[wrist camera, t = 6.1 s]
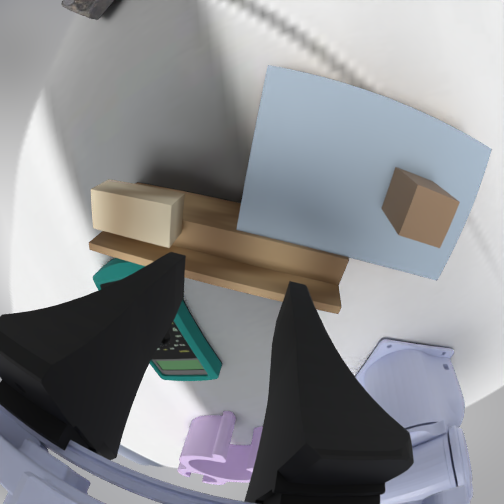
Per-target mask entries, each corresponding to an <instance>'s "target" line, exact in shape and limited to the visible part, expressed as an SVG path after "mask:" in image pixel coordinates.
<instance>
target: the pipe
mask: <svg viewBox="0 0 504 504" xmlns="http://www.w3.org/2000/svg"><path fill="white" fill-rule="evenodd" d="M113 1H114V0H63V1H62V6H63V7H65V8H67V9H69V10H71V11H73V12H75V13H78V14H80V15H83V16H86V17H88V18H91V19H96V20H98V19H99V18H100V17H101V16H102V14H103V13H104V12H105V11H106V9H107V8H108V7H109V6H110V5H111V3H112V2H113Z"/></svg>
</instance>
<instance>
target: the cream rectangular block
mask: <svg viewBox="0 0 504 504" xmlns="http://www.w3.org/2000/svg"><path fill="white" fill-rule="evenodd" d="M184 197H185V193H180V192H175V191H170V190H165V189H159V188H154V187H149V186H144V185H138V184H133V183H127V182H121V181H116V180H110V179H108V180H107V181H105V182H103V183H101V184H99V185H97V186H96V187H94V188H92V189H91V203H92V218H93V228H95V229H98V230H102V231H106V232H110V233H113V234H117V235H121V236H125V237H129V238H132V239H136V240H140V241H144V242H148V243H152V244H156V245H159V246H163V247H167V248H170V247H171V245H172V244H173V243H174V242H175V240H176V239H177V238H178V237H179V235H180V234H181V233H182V221H183V208H184Z"/></svg>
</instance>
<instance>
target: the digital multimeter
mask: <svg viewBox="0 0 504 504" xmlns="http://www.w3.org/2000/svg"><path fill="white" fill-rule="evenodd" d="M143 267H145V266H143V265H139V264H136V263H132V262H129V261H125V260H122V259H119V258H114V259H113V260H111V261H110V262H108V263H107V264H106V265H104V266H103V267H102V268H101V269H100V270H99V271H98V272H97V273H96V274H95V275H94V276H93V280H94V282H95V284H96V287H97V288H98V290H101V289H103V288H105V287H107V286H110V285H112V284H114V283H115V282H117V281H119V280H121V279H123V278H125V277H127V276H129V275H131V274H133V273H135V272H136V271H138V270H140V269H142V268H143ZM176 325H177V326H176ZM179 330H180V331H179ZM181 333H182V334H181ZM184 338H185V339H184ZM186 341H187V342H186ZM165 345H166V346H165ZM193 352H194V353H193ZM150 364H151V366H152V367H153V368H154V370H155V371H156V372H157V374H158V375H159V376H160V377H161V378H162V379H164V380H173V381H202V380H212V379H217V378H218V376H219V373H220V370H221V366H222V363H221V362H220V361H219V359H218V358H217V356H216V355H215V353H214V352H213V350H212V349H211V347H210V346H209V344H208V343H207V341H206V340H205V338H204V337H203V335H202V333H201V332H200V330H199V328H198V326H197V325H196V323H195V321H194V320H193V318H192V316H191V315H190V313H189V311H188V309H187V307H186V305H185V303H184V301H183V300H182V302H181V305H180V307H179V310H178V312H177V314H176V317H175V319H174V321H173V322H172V324H171V326H170V328H169V329H168V331H167V333H166V335H165V336H164V338H163V340H162V342H161V343H160V345H159V347H158V349H157V350H156V352H155V354H154V356H153V357H152V359H151V361H150Z"/></svg>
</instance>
